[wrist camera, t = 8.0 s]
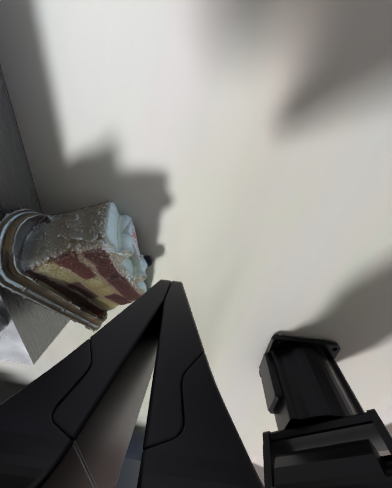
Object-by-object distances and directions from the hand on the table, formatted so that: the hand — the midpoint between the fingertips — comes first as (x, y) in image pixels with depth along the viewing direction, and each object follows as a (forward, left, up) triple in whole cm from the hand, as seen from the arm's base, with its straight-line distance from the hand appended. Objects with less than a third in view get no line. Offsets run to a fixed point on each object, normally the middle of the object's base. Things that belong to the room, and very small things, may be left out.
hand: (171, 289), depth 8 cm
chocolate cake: (+7, +4, -9) cm, 12 cm away
